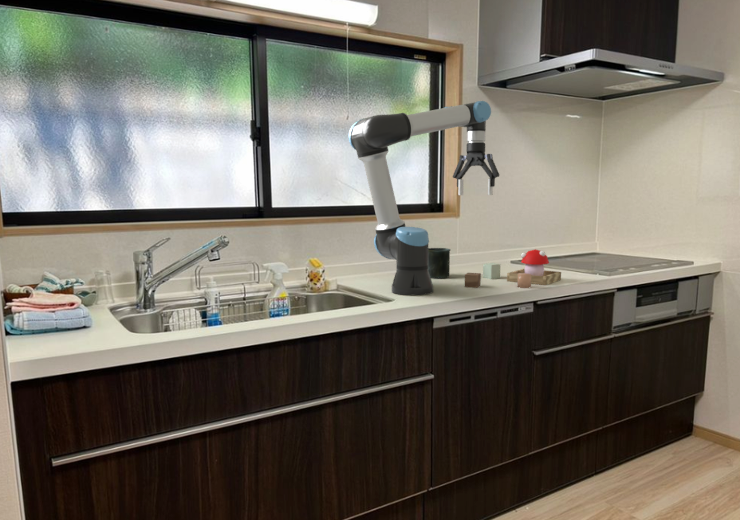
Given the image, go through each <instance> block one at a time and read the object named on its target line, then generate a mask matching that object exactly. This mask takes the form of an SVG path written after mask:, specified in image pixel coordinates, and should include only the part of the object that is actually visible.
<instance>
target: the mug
mask: <svg viewBox="0 0 740 520" xmlns="http://www.w3.org/2000/svg"><path fill="white" fill-rule="evenodd" d="M450 251H451V248H446V247H428V272H429V275H430V278H431V279H448V278H449V277H450V265H451V264H450V257H451V256H450V255H451V253H450Z"/></svg>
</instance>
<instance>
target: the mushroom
mask: <svg viewBox="0 0 740 520" xmlns="http://www.w3.org/2000/svg"><path fill="white" fill-rule="evenodd" d="M520 257H521V258H522V259H521V262H520V263H521V264H525V266H524V268H523V269H524V270H525V273H529V274H531V275H536V276H543V274H544V270H545V268H544V267H545V266H544V265H548V264H550V262H549V259H548V258H549V257H548V255H547V254H546V253H545V251H544V250H539V249H531V250H528V251H527V252H522V253H521V254H520Z"/></svg>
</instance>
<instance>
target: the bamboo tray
mask: <svg viewBox="0 0 740 520" xmlns="http://www.w3.org/2000/svg"><path fill="white" fill-rule="evenodd" d="M524 269H525V268H522V269H518V270H514V271H511V272H507V273H506V282H512V283H517V282H518V273H525V270H524ZM558 280H559V281H561V280H562V272H561V271H557V270H556V271H554V270H545V269H544V274H543V276H536V275H531V285H538V284H539V285H540V286H548V285H551V284H553V283H556V282H558ZM555 281H556V282H555ZM547 284H548V285H547ZM539 285H538V286H539Z"/></svg>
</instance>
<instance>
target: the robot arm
mask: <svg viewBox="0 0 740 520" xmlns="http://www.w3.org/2000/svg"><path fill="white" fill-rule="evenodd" d="M491 116H492V107H491V105H490V104H489V103H488V102H487V101H485V100H476V101H474V102H470V103H466V104H459V105H454V106H452V105H451V106H444V107H443V108H437V109H433V110H428V111H427V110H425V111H421V112H417V113H416V112H415V113H410V114H407V113H405V112H401V113H390V114H376V115H372V116H369V117H365V118H361V119H359V120H357V121H356V122H354V123H353V124H352V125H351V127H350V129H349V131H348V141H349V144H350V146H351V148H352V149H354V151H356V155H357V159H359V160H360V161H361V162H362V163H363V167H364V171H365V175H366V178H367V179H366V180H367V182H368V183H367V184H368V187H369V191H370V196H371V199H372V204H373V208H374V212H375V217H376V222H377V225H376V226H375V228H374V230H375V236H374V239H373V245H374V248H375V251H376V252H377V253H378V254H379V255H380V256H382V257H383V258H386V259H387V260H394V261H396V264H395V265H396V272H395V273H394V278H393V280H392V283H391V293H394V294H396V295H397V294H398V295H403V296H421V295H428V294H432V293H433V292H434V286H433V282H432V278H430V275H429V272H428V248H429V243H430V241H429V232H428V231H427V230H426V229H424V228H423V227H415V226H406V223H405V220H403V219H401V218H400V214H399V210H398V205H397V200H396V196H395V191H394V188H393V184H392V179H391V175H390V170H389V166H388V165H389V164H388V161H387V155H388V153H389V147H390V146H392V145H395V144H398V143H402V142H406V141H409V140H411V137H414V136H420V135H424V134H425V135H426V134H430V133H434V132H439V131H444V130H449V129H453V128H457V127H458V128H466V155H463V154H461V155H459V161H458V163H457V165H456V167H455V170H454V172H453V175H452V178H453V179H455V180H456V187H457V188H458V190H457V191H458V192H457V193H458V196H464V179H463V177H464V176H465V175H466V173H467V172H468V171H469V169H470V168H471V167H476V166H477V167H478V166H479V167H480V168H482V169H483V171H484V172H485V173H486V174H487V176H488V177H489V178H488V179H487V196H493V192H494V191H493V190H494V187H495V185H496V183H495V180H496V178H498V177H500V172H499V171H498V169H497V166H496V163H495V161H494V159H493V154H492V153H487V154H486V143H485V142H486V126H487V125H486V124H487V121H488V120H489V119H490V117H491ZM485 160H486V161H487V163H488V165H489V166H488V165H487V163H486V162H485ZM465 161H466V163H465Z"/></svg>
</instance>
